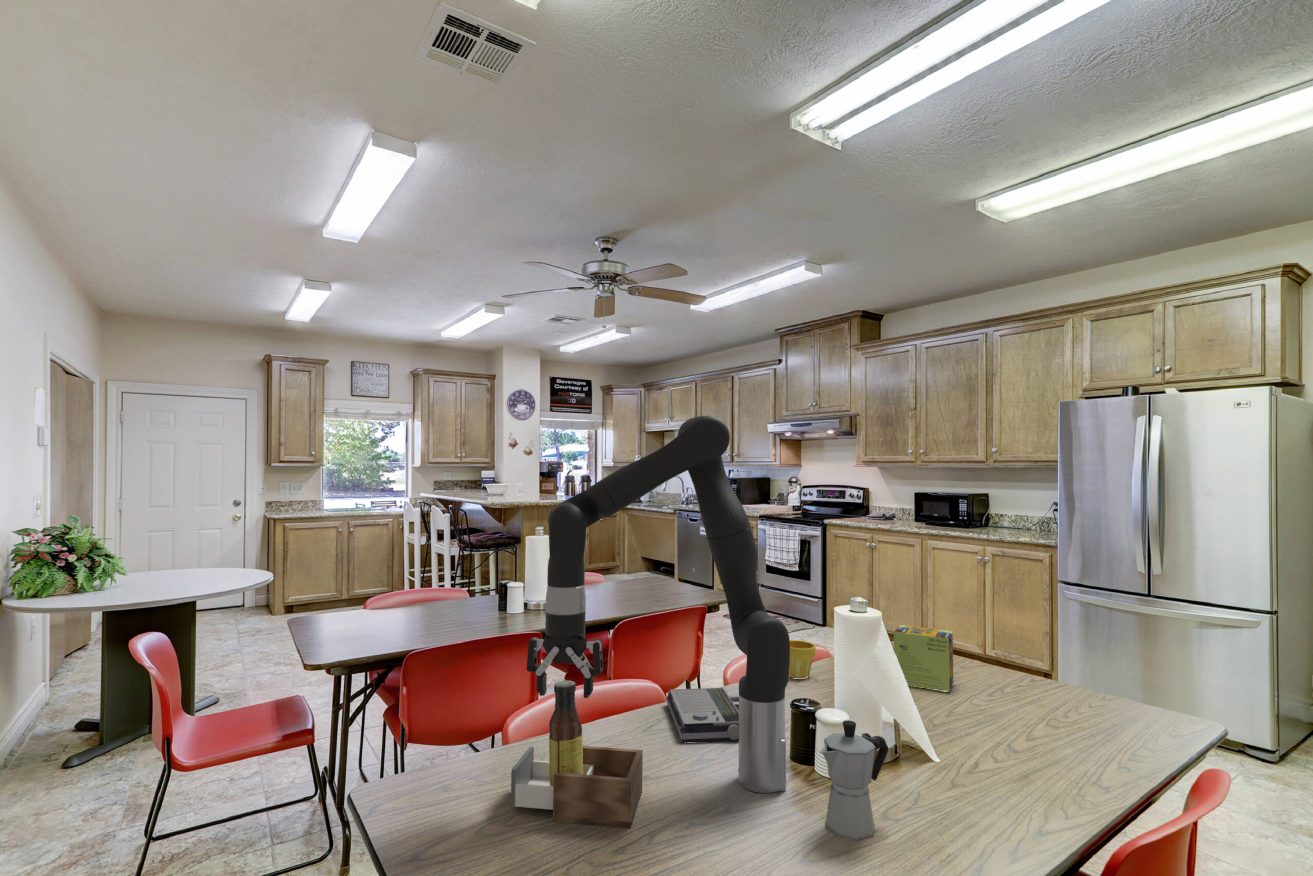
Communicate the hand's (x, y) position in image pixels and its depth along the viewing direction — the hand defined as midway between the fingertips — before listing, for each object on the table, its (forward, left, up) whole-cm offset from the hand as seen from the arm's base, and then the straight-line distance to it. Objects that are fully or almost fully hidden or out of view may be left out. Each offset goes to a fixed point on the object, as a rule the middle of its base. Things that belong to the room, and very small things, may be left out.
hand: (564, 695), depth 121 cm
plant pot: (-50, -84, -20) cm, 99 cm away
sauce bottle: (0, 0, -18) cm, 18 cm away
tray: (+2, 0, -18) cm, 18 cm away
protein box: (-86, -83, -20) cm, 121 cm away
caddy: (-7, 0, -20) cm, 21 cm away
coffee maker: (-53, -1, -20) cm, 57 cm away
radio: (-26, -43, -20) cm, 54 cm away
